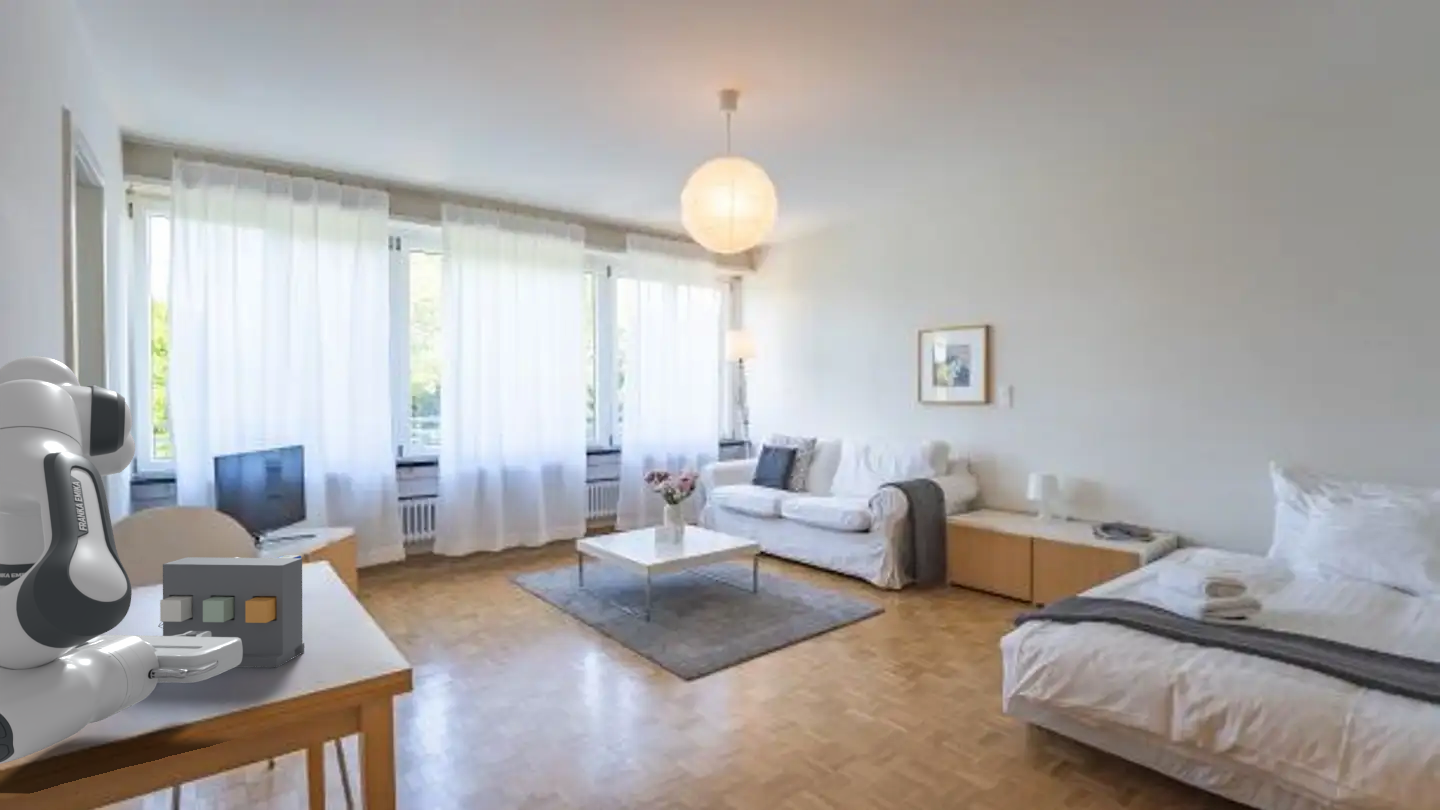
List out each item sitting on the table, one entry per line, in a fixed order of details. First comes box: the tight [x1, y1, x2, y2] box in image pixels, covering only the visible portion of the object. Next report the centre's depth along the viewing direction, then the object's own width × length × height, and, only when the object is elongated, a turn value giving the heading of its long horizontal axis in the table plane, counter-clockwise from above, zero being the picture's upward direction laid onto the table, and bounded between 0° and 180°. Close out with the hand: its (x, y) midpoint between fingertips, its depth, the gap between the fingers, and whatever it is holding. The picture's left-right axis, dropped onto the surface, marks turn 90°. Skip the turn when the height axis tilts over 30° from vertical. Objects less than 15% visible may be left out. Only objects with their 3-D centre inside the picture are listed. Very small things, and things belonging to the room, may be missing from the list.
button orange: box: [245, 596, 277, 623], centre depth 112 cm, size 3×3×3 cm
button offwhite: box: [159, 595, 193, 622], centre depth 113 cm, size 3×3×3 cm
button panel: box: [162, 556, 305, 668], centre depth 115 cm, size 20×7×16 cm, turn 88°
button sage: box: [203, 596, 235, 622], centre depth 113 cm, size 3×3×3 cm
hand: (201, 636), depth 100 cm, fingers closed
